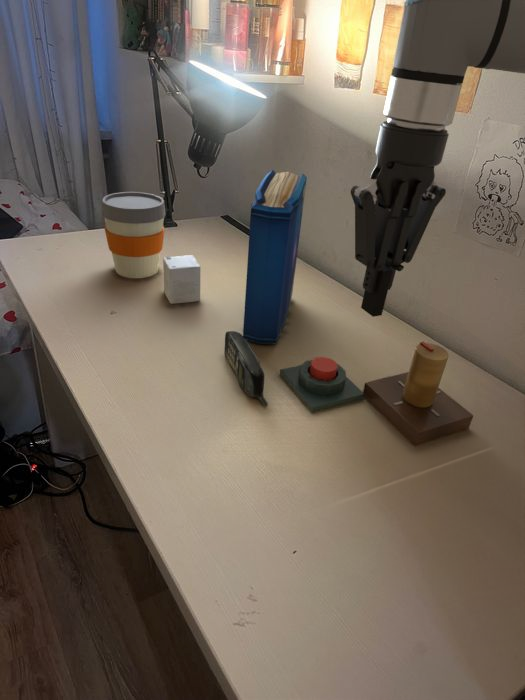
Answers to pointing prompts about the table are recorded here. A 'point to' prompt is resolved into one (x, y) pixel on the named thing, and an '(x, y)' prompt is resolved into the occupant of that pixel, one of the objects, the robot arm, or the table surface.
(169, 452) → the table surface
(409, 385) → the lock knob
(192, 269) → the white cardboard box
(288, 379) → the push button base
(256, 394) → the mobile phone
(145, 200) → the reusable coffee cup
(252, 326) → the book
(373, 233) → the robot arm
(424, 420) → the plate
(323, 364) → the bell button
